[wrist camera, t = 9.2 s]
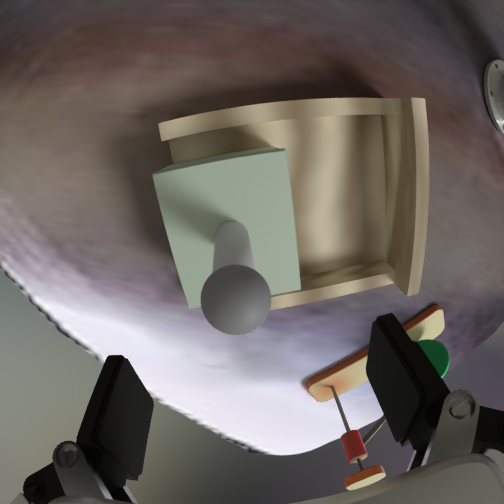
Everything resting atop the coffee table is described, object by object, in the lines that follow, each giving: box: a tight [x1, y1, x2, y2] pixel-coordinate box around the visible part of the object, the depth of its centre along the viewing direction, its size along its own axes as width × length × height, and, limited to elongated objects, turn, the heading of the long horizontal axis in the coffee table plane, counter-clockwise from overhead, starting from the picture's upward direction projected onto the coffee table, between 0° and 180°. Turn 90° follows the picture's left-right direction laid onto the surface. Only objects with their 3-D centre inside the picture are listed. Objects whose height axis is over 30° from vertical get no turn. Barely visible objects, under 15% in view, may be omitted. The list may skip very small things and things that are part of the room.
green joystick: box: [152, 146, 301, 335], centre depth 20 cm, size 10×12×17 cm
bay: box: [158, 97, 429, 321], centre depth 26 cm, size 23×20×7 cm
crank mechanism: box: [306, 305, 449, 490], centre depth 32 cm, size 25×7×19 cm, turn 121°
